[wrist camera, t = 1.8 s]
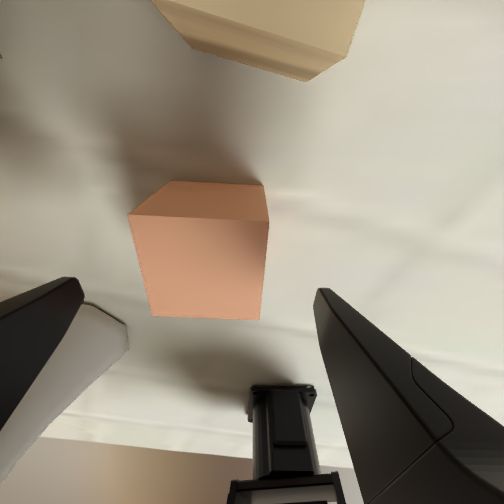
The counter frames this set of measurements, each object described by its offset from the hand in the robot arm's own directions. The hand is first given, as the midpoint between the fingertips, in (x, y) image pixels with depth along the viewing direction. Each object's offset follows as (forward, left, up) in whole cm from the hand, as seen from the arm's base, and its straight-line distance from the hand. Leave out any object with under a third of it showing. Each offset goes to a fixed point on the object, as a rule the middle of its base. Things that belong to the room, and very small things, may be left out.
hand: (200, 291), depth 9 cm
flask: (-10, +11, -6) cm, 16 cm away
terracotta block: (0, 0, -6) cm, 6 cm away
